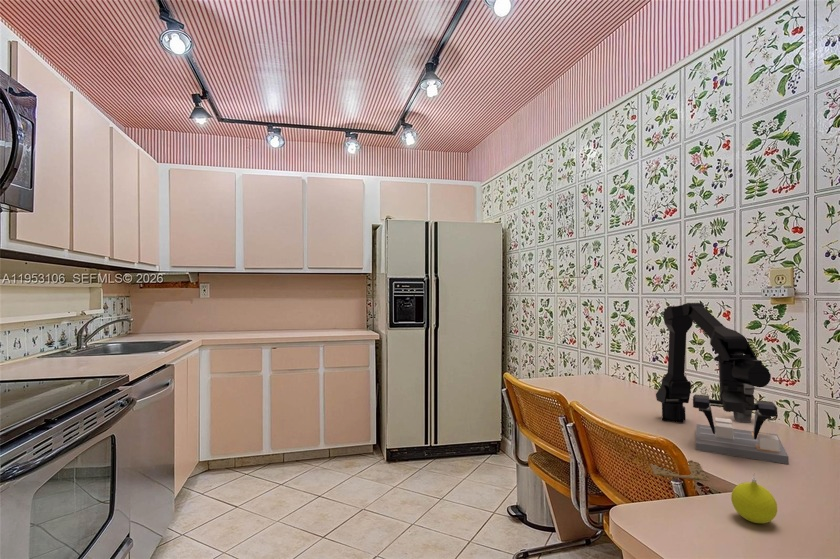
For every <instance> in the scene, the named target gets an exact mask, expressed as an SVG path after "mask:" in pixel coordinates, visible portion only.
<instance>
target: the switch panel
mask: <svg viewBox="0 0 840 559" xmlns="http://www.w3.org/2000/svg"><path fill="white" fill-rule="evenodd" d="M714 427H715V434H713V432H712V429H711V427H710V425H709V424H708V425H707V424H699V423H696V425H695V428H696V429H695V450H696V451H699V450H700V451H701V452H705V451H706V452H705V453H712V454H720V455H725V456H733V457H739V458H745V459H752V460H758V461H765V462H770V463H771V462H772V463H778V464H782V465H783V464H784V465H790V461H789V460H790V458H789V455H788V453H787V451H786V449H785V447H784V445H783V443H782V441H781V439H780V437H779V435H778V434H777V433H768V432H761V431H759V434H767V435H775V436H777V437H778V439H779V452H778V451H771V450H764V449H760V447H759V445H758V436H757V438H756V439H754V430H746V429H739V428H738V429H736V428H733V439H731V438H723V437H716V425H714Z"/></svg>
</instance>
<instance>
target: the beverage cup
mask: <svg viewBox="0 0 840 559" xmlns="http://www.w3.org/2000/svg"><path fill="white" fill-rule="evenodd" d="M755 389H756V388H755V386H751V385H748V384H745V394H750V395H754V393H755ZM752 416H753V410H746V412H745V413H738V412H733V418H734V421H735V422H738V423H742V424H750V423H752V419H753V418H752Z"/></svg>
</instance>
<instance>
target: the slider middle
mask: <svg viewBox="0 0 840 559" xmlns="http://www.w3.org/2000/svg"><path fill="white" fill-rule="evenodd" d="M715 426H716V437H723V438H731V439H733V429H734V427H733V423H732V424H724V423H716V425H715Z"/></svg>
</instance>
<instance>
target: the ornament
mask: <svg viewBox="0 0 840 559" xmlns="http://www.w3.org/2000/svg"><path fill="white" fill-rule="evenodd" d="M753 475H755V473H754V474H753ZM730 498H731V504H732V506H733V508H734V509H735V511H736V512H737V514H738V515H739V516H741V517H742V518H744V519H745V521H746V520H747V521H749V522H751V523H754V524H768V523H769V522H771V521H773V520H774V519H775V518H776V516H777V513H778V504H777V501H776V498H775V497H774V496H773V494H772V492H770V491H769V490H768V489H767V488H765V487H764V486H762V485H760V484H758V483H757V479H756V477H752V478H751V482H741V483H739V484H737V485H736V486H735V487H734V488H733V490H732V492H731V497H730Z"/></svg>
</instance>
